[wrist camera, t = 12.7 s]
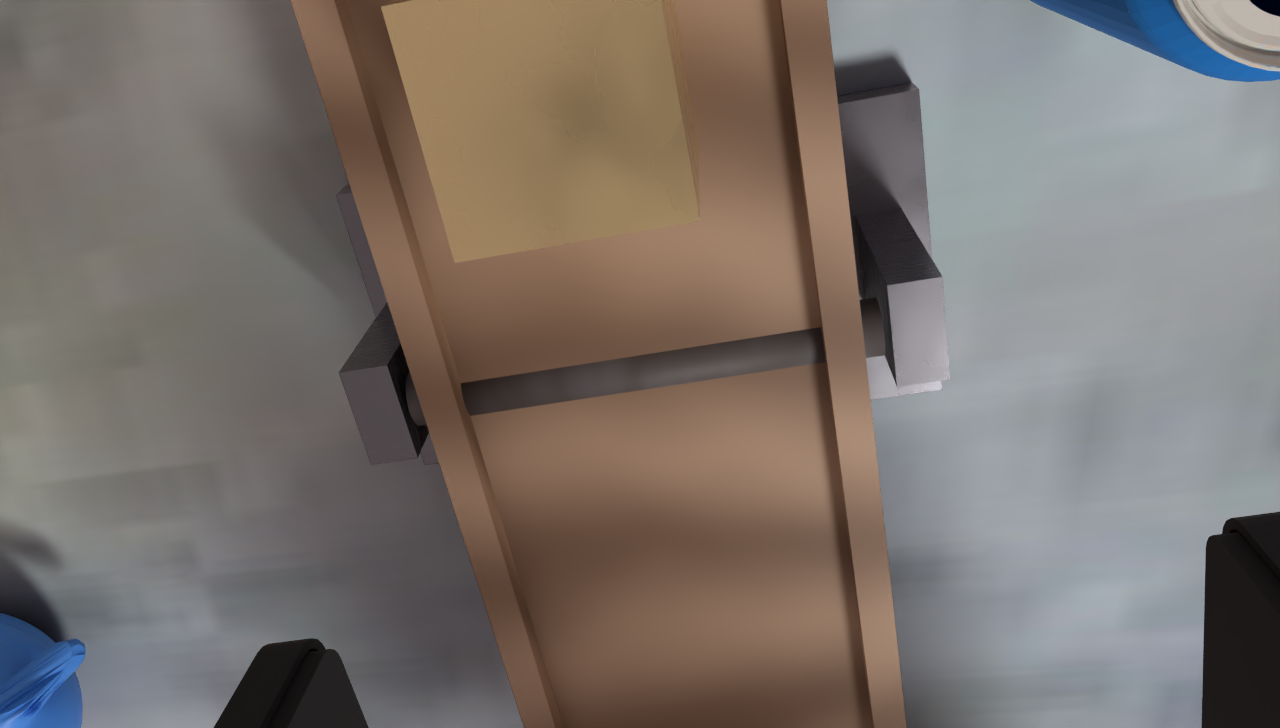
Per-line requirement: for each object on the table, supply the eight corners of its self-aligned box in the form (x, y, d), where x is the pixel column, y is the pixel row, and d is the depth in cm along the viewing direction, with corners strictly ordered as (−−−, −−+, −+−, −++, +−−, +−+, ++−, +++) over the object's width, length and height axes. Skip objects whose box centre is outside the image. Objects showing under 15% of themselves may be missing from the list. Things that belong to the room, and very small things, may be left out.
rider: (698, 144, 26) (700, 220, 20) (503, 179, 26) (454, 262, 21) (661, -71, 24) (652, -50, 18) (450, -27, 24) (381, 6, 19)
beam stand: (935, 376, 35) (986, 483, 29) (431, 450, 38) (380, 565, 32) (912, 82, 31) (966, 138, 25) (345, 186, 33) (268, 260, 27)
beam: (921, 757, 36) (940, 835, 33) (552, 795, 38) (541, 872, 35) (798, -421, 22) (814, -463, 19) (212, -278, 23) (144, -297, 20)
